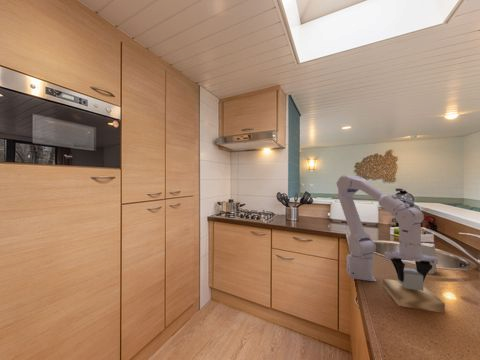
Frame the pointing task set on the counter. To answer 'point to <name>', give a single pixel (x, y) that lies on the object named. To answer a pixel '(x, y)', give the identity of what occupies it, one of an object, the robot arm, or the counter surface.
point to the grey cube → (412, 279)
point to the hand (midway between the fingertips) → (410, 281)
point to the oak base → (413, 297)
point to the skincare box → (429, 254)
